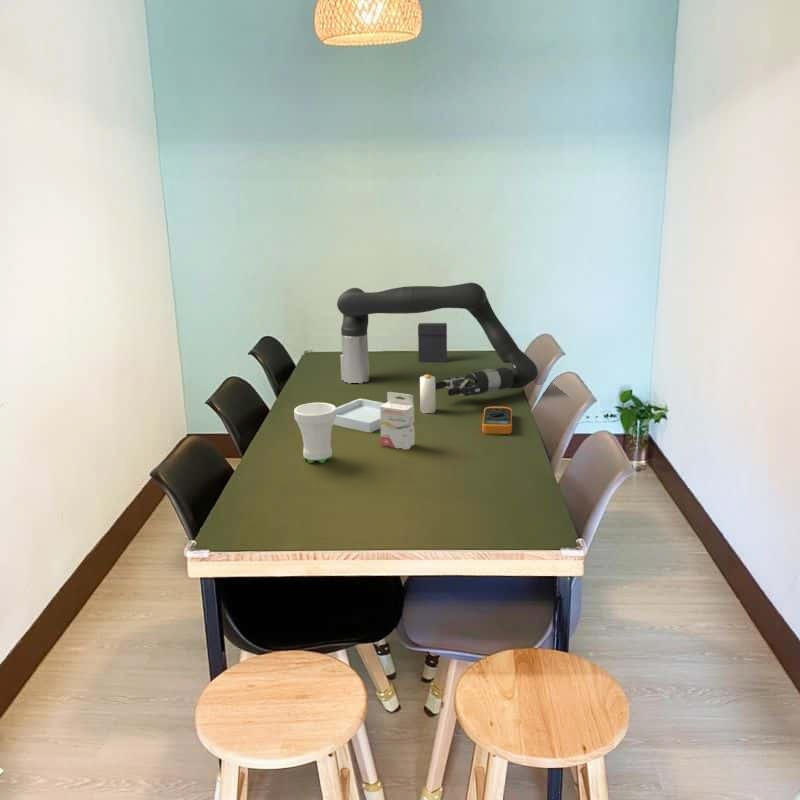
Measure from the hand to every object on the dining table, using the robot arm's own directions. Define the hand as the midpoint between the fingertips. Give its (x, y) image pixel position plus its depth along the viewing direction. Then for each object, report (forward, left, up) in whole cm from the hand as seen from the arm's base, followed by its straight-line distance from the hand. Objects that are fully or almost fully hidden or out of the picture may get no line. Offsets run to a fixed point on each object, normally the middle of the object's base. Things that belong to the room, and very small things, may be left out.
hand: (441, 389), depth 250 cm
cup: (-4, -55, -7) cm, 55 cm away
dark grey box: (-36, +49, -7) cm, 62 cm away
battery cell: (-2, -5, -6) cm, 8 cm away
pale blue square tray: (-14, -22, -6) cm, 26 cm away
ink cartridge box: (+8, -35, -7) cm, 36 cm away
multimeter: (+23, -4, -7) cm, 24 cm away
